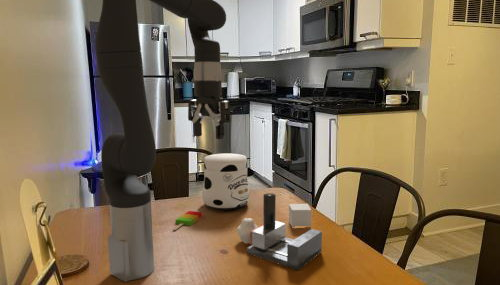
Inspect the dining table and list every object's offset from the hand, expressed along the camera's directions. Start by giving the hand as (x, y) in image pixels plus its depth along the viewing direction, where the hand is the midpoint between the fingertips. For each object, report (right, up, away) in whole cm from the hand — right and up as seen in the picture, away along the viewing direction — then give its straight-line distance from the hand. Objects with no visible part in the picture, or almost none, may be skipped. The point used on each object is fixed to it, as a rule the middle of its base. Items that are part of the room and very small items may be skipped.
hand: (208, 137), depth 107 cm
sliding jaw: (+17, -28, -4) cm, 33 cm away
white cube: (+27, -28, +13) cm, 41 cm away
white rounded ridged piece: (+11, -30, +1) cm, 32 cm away
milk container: (+3, -25, +32) cm, 41 cm away
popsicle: (-9, -28, +15) cm, 33 cm away
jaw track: (+21, -31, -7) cm, 38 cm away
